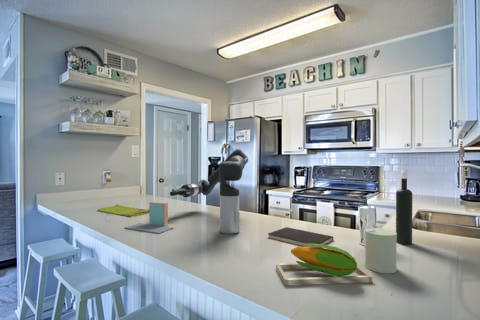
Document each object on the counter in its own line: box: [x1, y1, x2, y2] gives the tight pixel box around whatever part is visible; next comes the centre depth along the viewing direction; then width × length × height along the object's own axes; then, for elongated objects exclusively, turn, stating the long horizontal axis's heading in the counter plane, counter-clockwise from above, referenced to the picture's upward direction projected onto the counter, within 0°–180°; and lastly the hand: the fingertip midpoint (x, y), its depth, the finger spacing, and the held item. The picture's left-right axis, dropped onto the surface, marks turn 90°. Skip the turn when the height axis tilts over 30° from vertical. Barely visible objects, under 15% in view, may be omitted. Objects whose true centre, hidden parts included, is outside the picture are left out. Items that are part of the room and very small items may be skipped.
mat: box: [124, 222, 174, 235], centre depth 132 cm, size 22×10×1 cm, turn 65°
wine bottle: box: [395, 169, 413, 246], centre depth 110 cm, size 6×6×30 cm
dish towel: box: [96, 203, 149, 218], centre depth 173 cm, size 15×36×3 cm, turn 59°
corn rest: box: [275, 262, 373, 286], centre depth 80 cm, size 25×11×2 cm, turn 95°
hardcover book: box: [267, 226, 334, 248], centre depth 116 cm, size 16×23×2 cm
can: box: [363, 227, 398, 274], centre depth 85 cm, size 9×9×12 cm
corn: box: [290, 243, 358, 277], centre depth 80 cm, size 7×8×20 cm
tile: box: [148, 201, 169, 227], centre depth 138 cm, size 10×3×12 cm, turn 65°
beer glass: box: [357, 205, 378, 247], centre depth 109 cm, size 7×7×15 cm
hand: (170, 193), depth 148 cm, fingers closed
